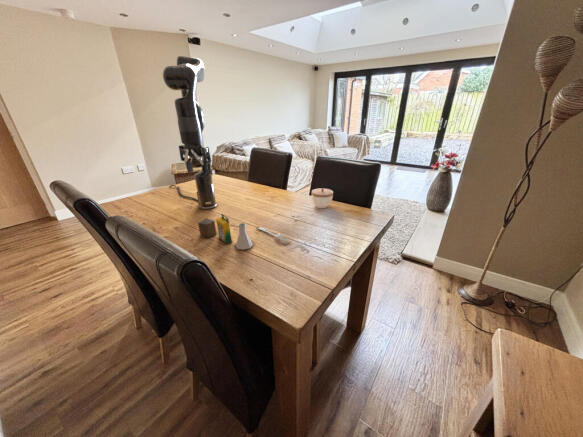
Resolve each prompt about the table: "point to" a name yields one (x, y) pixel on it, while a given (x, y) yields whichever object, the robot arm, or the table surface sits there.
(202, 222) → the walnut block
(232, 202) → the table surface
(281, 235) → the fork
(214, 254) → the table surface
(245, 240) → the flask
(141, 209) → the table surface
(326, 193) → the lidded bowl
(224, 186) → the table surface
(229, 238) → the crayon box
